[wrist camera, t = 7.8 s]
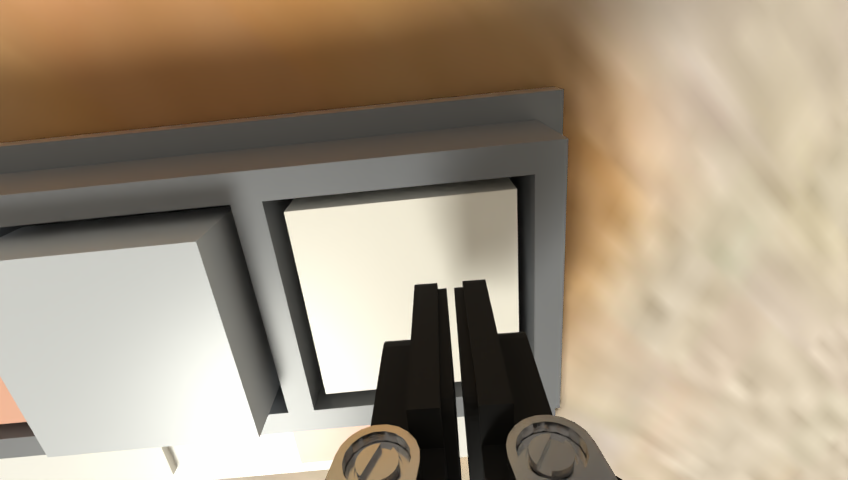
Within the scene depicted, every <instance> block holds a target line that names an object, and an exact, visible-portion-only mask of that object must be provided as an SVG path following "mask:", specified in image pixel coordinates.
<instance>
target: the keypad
mask: <svg viewBox="0 0 848 480" xmlns="http://www.w3.org/2000/svg"><path fill="white" fill-rule="evenodd" d="M563 104H564V89H561V88H557V87H545V88H535V89H525V90H515V91H505V92H495V93H486V94H476V95H466V96H456V97H446V98H436V99H427V100H417V101H407V102H397V103H387V104H377V105H368V106H358V107H348V108H338V109H328V110H319V111H309V112H299V113H289V114H279V115H269V116H260V117H250V118H240V119H230V120H220V121H210V122H201V123H191V124H181V125H171V126H161V127H151V128H142V129H132V130H122V131H112V132H102V133H92V134H83V135H73V136H63V137H53V138H43V139H33V140H24V141H14V142H4V143H0V237H2V236H4V235H6V234H8V233H11V232H13V231H15V230H17V229H19V228H21V227H25V226H36V225H46V224H56V223H66V222H76V221H86V220H96V219H106V218H116V217H127V216H137V215H147V214H157V213H167V212H177V211H187V210H197V209H207V208H217V207H228V206H231V210H232V213H233V217H234V220H235V224H236V228H237V231H238V235H239V238H240V242H241V245H242V249H243V253H244V256H245V260H246V263H247V267H248V270H249V274H250V278H251V281H252V285H253V288H254V292H255V295H256V299H257V302H258V306H259V310H260V313H261V317H262V320H263V324H264V327H265V331H266V335H267V338H268V342H269V345H270V349H271V352H272V356H273V360H274V363H275V367H276V370H277V374H278V377H279V381H280V386H279V389H278V391H277V394H276V397H275V399H274V402H273V404H272V407H271V409H270V412H269V415H268V417H267V420H266V422H265V425H264V427H263V430H262V433H261V435H260V438H254V439H243V440H232V441H221V442H210V443H199V444H188V445H177V446H166V447H155V448H144V449H133V450H123V451H112V452H101V453H90V454H79V455H68V456H57V457H47V455H46V454H45V452H44V450H43V448H42V447H41V445H40V443H39V442H38V440H37V438H36V436H35V435H34V433H33V431H32V430H31V428H30V426H29V425H28V423H27V422H19V423H8V424H0V480H214V479H225V478H237V477H248V476H259V475H270V474H281V473H292V472H303V471H314V470H325V469H330V466H331V464H332V461H333V459H334V456H335V454H336V453H337V451H338V449H339V448H340V446H341V444H343V443H344V442H345V441H346V440H347V439H348V438H349V437H350V436H351V435H353V434H354V433H356V432H358V431H359V430H361V429H364V428H367V427H370V426H371V420H372V413H373V407H374V401H375V394H376V389H374V390H363V391H352V392H342V393H331V394H326V392H325V388H324V384H323V379H322V375H321V371H320V366H319V362H318V358H317V353H316V349H315V345H314V340H313V336H312V332H311V328H310V323H309V319H308V315H307V310H306V306H305V302H304V297H303V293H302V289H301V284H300V280H299V276H298V272H297V267H296V263H295V259H294V254H293V250H292V246H291V241H290V237H289V233H288V228H287V224H286V220H285V215H284V211H285V210H286V208H287V207H288V206H289V204H290V203H291V202H292V201H293V199H294V198H302V197H312V196H322V195H332V194H342V193H352V192H363V191H373V190H383V189H393V188H403V187H413V186H423V185H433V184H443V183H453V182H464V181H474V180H484V179H494V178H504V177H509V179H510V180H511V181H512V183H513V184H514V186H515V187H516V188H517V225H518V299H519V332H525V333H526V335H527V338H528V341H529V344H530V347H531V350H532V353H533V356H534V359H535V362H536V365H537V368H538V371H539V375H540V378H541V381H542V384H543V387H544V390H545V393H546V396H547V399H548V402H549V405H550V408H551V411H552V415H553V416H555V408H560V386H561V355H562V324H563V293H564V261H565V230H566V199H567V168H568V138H566V137H565V136H563ZM455 393H456V408H457V422H458V437H459V451H460V457H468V453H467V442H466V431H465V419H464V408H463V397H462V385H461V381H460V382H455Z"/></svg>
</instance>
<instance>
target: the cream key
mask: <svg viewBox="0 0 848 480" xmlns="http://www.w3.org/2000/svg"><path fill="white" fill-rule="evenodd" d="M284 215H285V220H286V224H287V228H288V233H289V237H290V241H291V246H292V250H293V254H294V259H295V263H296V267H297V272H298V276H299V280H300V284H301V289H302V293H303V297H304V302H305V306H306V310H307V315H308V319H309V323H310V328H311V332H312V336H313V340H314V345H315V349H316V353H317V358H318V362H319V366H320V371H321V375H322V379H323V384H324V388H325V392H326V394H331V393H342V392H352V391H363V390H374V389H376V388H377V382H378V375H379V369H380V363H381V356H382V350H383V345H384V342H385V341H398V340H411V327H412V313H413V298H414V285H416V284H430V283H437V285H438V289H443V288H447V298H448V310H449V322H450V333H451V345H452V357H453V368H454V380H455V382H460V381H461V372H460V360H459V347H458V334H457V321H456V308H455V296H454V288H456V287H463V286H462V281H469V280H482V279H485V280H486V284H487V289H488V293H489V298H490V302H491V306H492V311H493V315H494V319H495V324H496V328H497V333H512V332H519V299H518V225H517V188H516V187H515V186H514V184H513V183H512V181H511V180H510V179H509V177H504V178H494V179H484V180H474V181H464V182H453V183H443V184H433V185H423V186H413V187H403V188H393V189H383V190H373V191H363V192H352V193H342V194H332V195H322V196H312V197H302V198H294V199H293V201H292V202H291V203H290V204H289V206H288V207H287V208H286V210H285V211H284Z"/></svg>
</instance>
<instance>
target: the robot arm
mask: <svg viewBox="0 0 848 480" xmlns="http://www.w3.org/2000/svg"><path fill="white" fill-rule="evenodd" d="M462 286H463V287H456V288H454V296H455V308H456V321H457V334H458V347H459V360H460V372H461V385H462V397H463V408H464V419H465V431H466V442H467V453H468V465H469V476H470V480H622V479H620V478H618V477H617V476H615V474H614V473H613V471H612V469H611V468H610V466H609V464H608V463H607V461H606V459H605V458H604V456H603V454H602V453H601V451H600V449H599V448H598V446H597V444H596V443H595V441H594V440H593V439H592V437H591V436H590V435H589V434H588V433H587V431H586V430H584V429H583V428H582V427H580V426H579V425H577V424H576V423H575V422H572V421H570V420H568V419H565V418H563V417H558V416H553V415H552V411H551V408H550V405H549V402H548V399H547V396H546V393H545V390H544V387H543V384H542V381H541V378H540V375H539V371H538V368H537V365H536V362H535V359H534V356H533V353H532V350H531V347H530V344H529V341H528V338H527V335H526V333H525V332H512V333H497V328H496V324H495V319H494V315H493V311H492V306H491V302H490V298H489V293H488V289H487V284H486V280H485V279H482V280H469V281H462ZM325 480H461V466H460V451H459V437H458V422H457V408H456V393H455V380H454V368H453V357H452V345H451V333H450V322H449V310H448V298H447V288H443V289H438V285H437V283H430V284H416V285H414V298H413V313H412V327H411V340H398V341H385V342H384V345H383V350H382V356H381V363H380V369H379V375H378V382H377V388H376V394H375V401H374V407H373V413H372V420H371V426H370V427H367V428H364V429H361V430H359V431H358V432H356V433H354V434H353V435H351V436H350V437H349V438H348V439H347V440H346V441H345V442H344V443H343V444H341V446H340V448H339V449H338V451H337V453H336V454H335V456H334V459H333V461H332V464H331V466H330V469H329V471H328V474H327V476H326V479H325Z"/></svg>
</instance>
